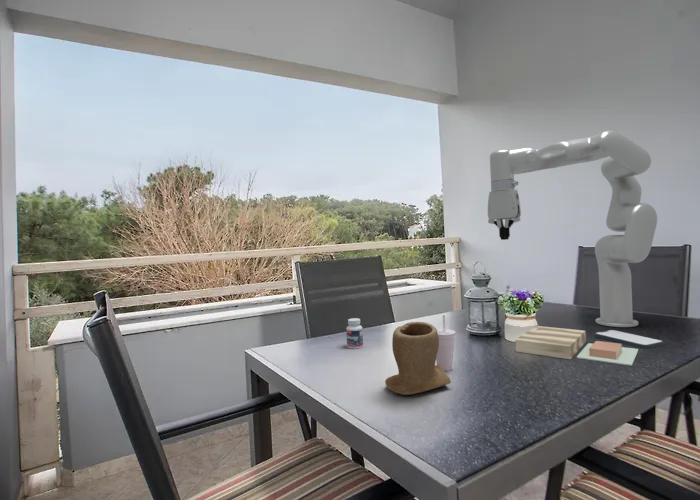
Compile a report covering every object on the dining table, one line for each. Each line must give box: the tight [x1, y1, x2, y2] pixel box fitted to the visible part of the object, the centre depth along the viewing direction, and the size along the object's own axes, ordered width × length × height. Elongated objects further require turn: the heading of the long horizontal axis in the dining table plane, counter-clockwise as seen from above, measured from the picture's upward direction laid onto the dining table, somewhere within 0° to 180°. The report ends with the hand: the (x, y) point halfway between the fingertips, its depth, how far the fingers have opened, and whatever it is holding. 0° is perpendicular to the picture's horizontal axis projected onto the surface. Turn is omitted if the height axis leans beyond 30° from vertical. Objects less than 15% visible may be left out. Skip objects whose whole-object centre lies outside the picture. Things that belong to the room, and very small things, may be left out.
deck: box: [515, 325, 587, 360], centre depth 115 cm, size 20×14×4 cm
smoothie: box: [435, 314, 457, 372], centre depth 100 cm, size 6×6×14 cm
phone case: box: [594, 329, 665, 350], centre depth 117 cm, size 9×2×16 cm
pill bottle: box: [345, 317, 364, 349], centre depth 126 cm, size 5×5×9 cm
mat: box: [576, 342, 639, 367], centre depth 106 cm, size 16×12×1 cm
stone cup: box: [384, 321, 452, 396], centre depth 88 cm, size 15×12×15 cm
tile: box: [589, 340, 623, 359], centre depth 105 cm, size 9×6×2 cm, turn 137°
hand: (504, 239), depth 135 cm, fingers closed
